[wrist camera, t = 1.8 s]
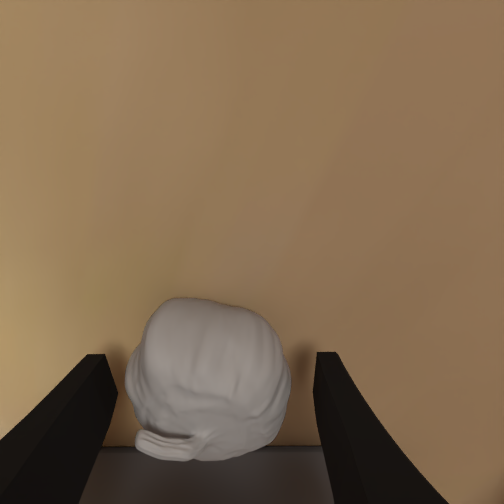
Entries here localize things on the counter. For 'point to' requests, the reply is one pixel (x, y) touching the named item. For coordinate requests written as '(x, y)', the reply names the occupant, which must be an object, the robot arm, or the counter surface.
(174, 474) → the tray
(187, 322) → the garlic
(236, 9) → the counter surface
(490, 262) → the counter surface
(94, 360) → the robot arm
